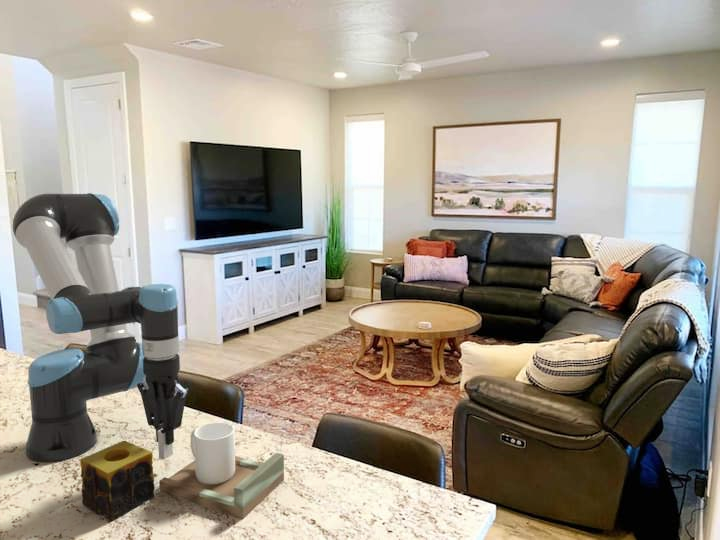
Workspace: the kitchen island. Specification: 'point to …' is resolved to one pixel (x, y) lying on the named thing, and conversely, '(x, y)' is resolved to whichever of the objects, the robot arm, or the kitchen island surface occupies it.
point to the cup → (214, 452)
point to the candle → (117, 479)
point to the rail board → (228, 486)
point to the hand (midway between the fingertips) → (165, 456)
